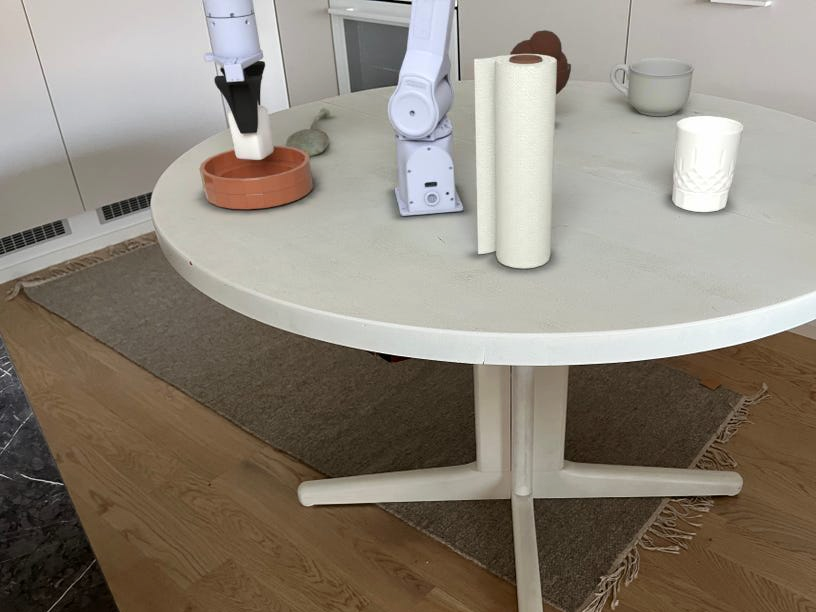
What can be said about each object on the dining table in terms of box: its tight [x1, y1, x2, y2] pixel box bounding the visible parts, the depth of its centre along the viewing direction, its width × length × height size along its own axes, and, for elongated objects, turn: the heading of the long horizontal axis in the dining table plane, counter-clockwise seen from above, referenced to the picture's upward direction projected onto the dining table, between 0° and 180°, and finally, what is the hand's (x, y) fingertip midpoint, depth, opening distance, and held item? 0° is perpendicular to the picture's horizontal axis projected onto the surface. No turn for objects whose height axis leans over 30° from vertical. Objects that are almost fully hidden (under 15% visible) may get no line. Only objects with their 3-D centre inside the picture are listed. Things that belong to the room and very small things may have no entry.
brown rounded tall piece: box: [509, 29, 572, 95], centre depth 128 cm, size 11×11×15 cm
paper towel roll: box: [473, 54, 557, 269], centre depth 83 cm, size 7×6×21 cm
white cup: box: [671, 115, 744, 213], centre depth 99 cm, size 8×8×10 cm
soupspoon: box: [285, 107, 331, 157], centre depth 129 cm, size 22×3×7 cm
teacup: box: [609, 57, 695, 117], centre depth 136 cm, size 14×11×8 cm
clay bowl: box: [198, 145, 314, 210], centre depth 107 cm, size 14×14×4 cm
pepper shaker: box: [227, 104, 274, 160], centre depth 103 cm, size 4×4×10 cm
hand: (250, 126), depth 103 cm, fingers closed on pepper shaker, 5 cm apart
